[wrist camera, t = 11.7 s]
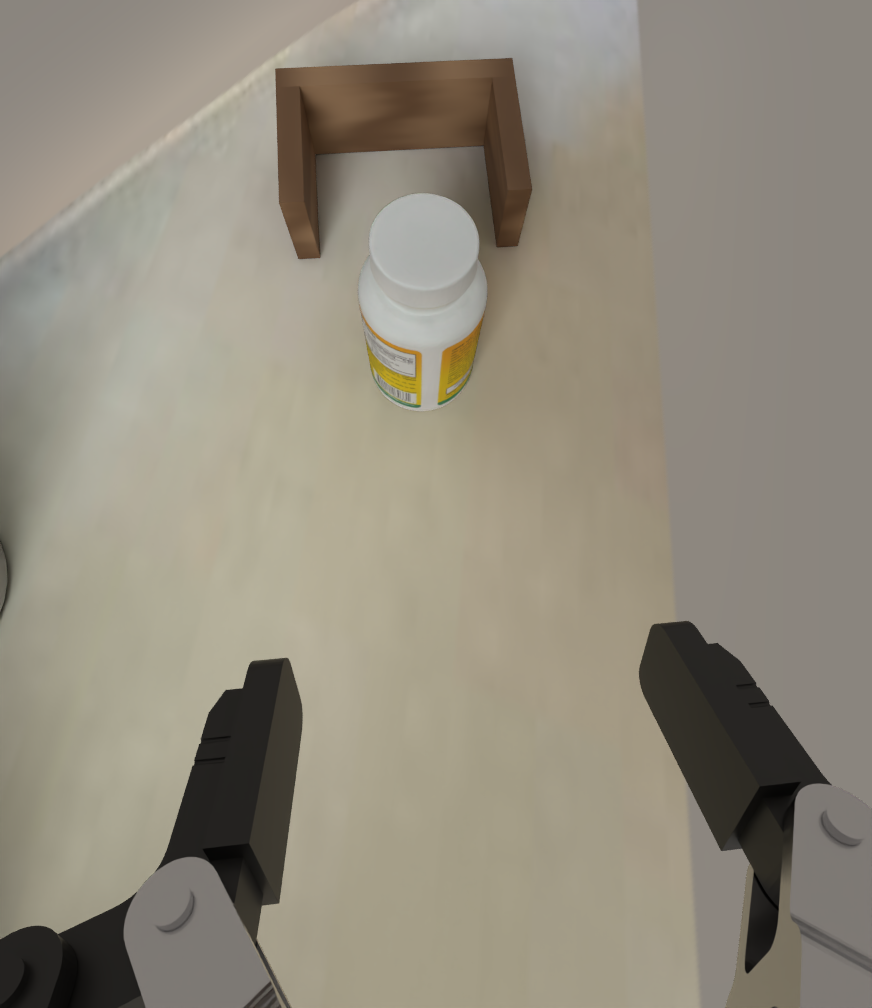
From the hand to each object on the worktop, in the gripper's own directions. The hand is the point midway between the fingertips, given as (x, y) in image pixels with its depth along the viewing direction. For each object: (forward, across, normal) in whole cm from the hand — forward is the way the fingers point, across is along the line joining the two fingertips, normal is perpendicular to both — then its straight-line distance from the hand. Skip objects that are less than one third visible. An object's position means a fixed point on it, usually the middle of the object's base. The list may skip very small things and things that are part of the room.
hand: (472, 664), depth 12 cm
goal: (+28, 0, -8) cm, 29 cm away
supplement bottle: (+20, 0, 0) cm, 20 cm away
